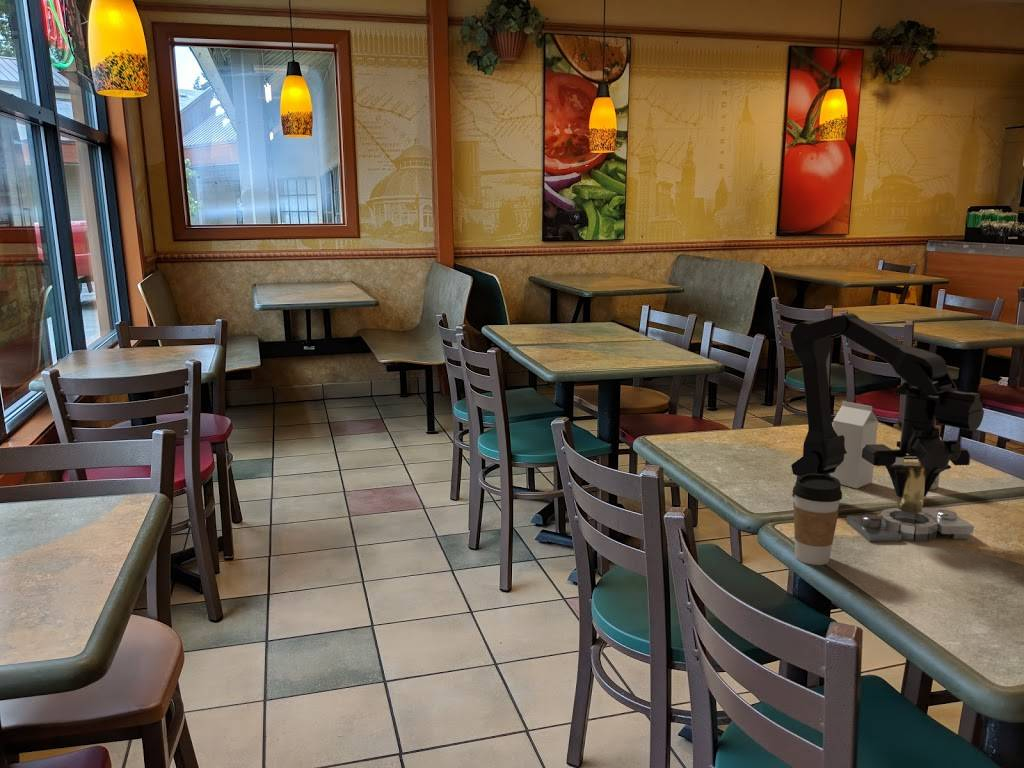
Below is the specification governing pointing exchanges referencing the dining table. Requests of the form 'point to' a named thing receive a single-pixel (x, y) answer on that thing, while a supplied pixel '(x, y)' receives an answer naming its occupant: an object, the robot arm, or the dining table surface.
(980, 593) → the dining table surface
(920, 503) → the pin
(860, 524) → the lower link
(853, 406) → the milk carton
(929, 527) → the upper link
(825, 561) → the coffee cup
